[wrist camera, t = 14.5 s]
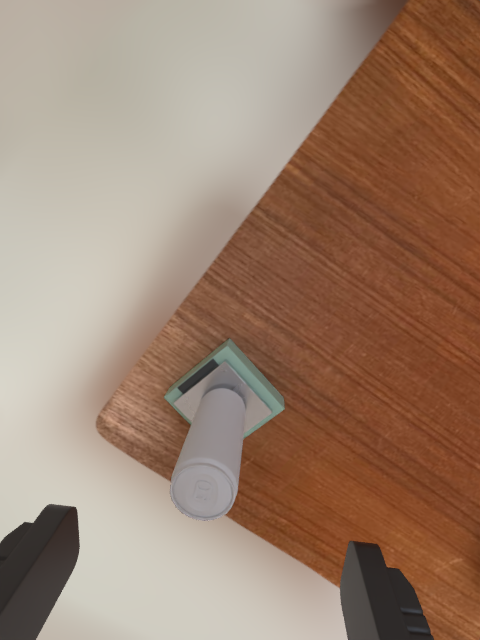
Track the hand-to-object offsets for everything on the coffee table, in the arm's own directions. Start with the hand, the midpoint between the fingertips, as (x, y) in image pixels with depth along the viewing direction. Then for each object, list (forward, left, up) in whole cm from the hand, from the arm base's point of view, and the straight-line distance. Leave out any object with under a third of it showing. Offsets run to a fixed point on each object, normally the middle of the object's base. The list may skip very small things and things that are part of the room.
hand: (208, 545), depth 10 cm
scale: (+5, -8, -28) cm, 29 cm away
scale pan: (+5, -8, -25) cm, 27 cm away
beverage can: (+5, -8, -24) cm, 26 cm away
